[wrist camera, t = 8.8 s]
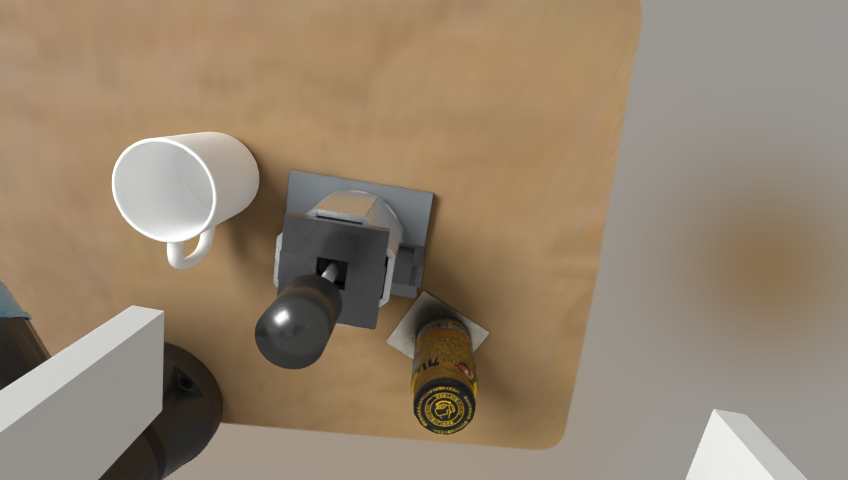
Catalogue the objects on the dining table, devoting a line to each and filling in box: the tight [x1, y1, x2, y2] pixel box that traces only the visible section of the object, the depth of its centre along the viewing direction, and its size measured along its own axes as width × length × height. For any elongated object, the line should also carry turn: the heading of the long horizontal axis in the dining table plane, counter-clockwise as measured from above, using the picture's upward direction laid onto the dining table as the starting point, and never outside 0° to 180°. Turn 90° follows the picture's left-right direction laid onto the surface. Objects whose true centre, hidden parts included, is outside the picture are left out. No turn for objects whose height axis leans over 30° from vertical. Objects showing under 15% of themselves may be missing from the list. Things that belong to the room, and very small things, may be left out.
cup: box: [112, 132, 259, 270], centre depth 43 cm, size 8×12×10 cm
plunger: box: [255, 216, 363, 369], centre depth 36 cm, size 7×7×19 cm
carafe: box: [273, 189, 426, 329], centre depth 43 cm, size 12×10×11 cm
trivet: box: [286, 170, 433, 299], centre depth 49 cm, size 14×11×1 cm
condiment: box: [386, 291, 490, 434], centre depth 46 cm, size 7×8×12 cm
